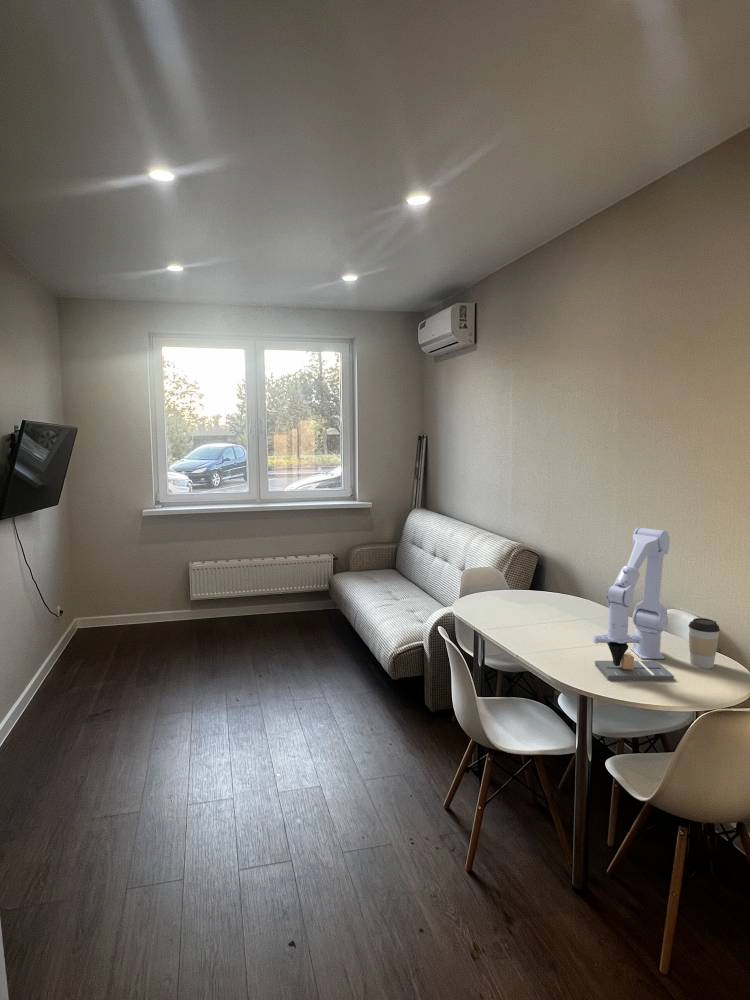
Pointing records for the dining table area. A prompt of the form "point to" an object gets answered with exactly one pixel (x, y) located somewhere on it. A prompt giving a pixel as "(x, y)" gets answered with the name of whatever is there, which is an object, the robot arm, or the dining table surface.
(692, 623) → the coffee cup
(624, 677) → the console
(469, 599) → the dining table surface
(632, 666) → the fader tab
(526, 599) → the dining table surface
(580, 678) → the dining table surface
